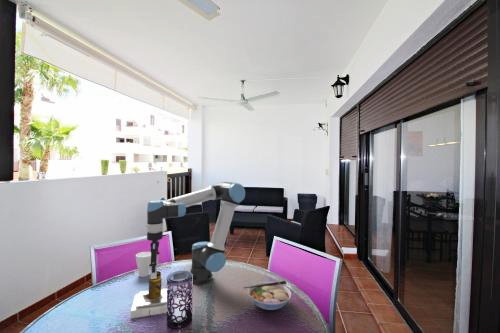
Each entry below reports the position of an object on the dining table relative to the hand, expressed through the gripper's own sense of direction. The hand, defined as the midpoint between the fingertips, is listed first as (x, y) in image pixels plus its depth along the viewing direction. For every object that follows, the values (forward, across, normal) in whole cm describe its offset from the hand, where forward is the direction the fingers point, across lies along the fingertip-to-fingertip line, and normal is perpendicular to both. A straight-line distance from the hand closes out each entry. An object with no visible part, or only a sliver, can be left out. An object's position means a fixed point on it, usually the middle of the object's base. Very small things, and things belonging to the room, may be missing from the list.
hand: (154, 272), depth 124 cm
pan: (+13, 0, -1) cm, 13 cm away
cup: (+17, -40, -9) cm, 44 cm away
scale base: (+17, 0, -1) cm, 17 cm away
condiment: (+12, 0, -1) cm, 12 cm away
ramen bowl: (+18, +15, +57) cm, 62 cm away
